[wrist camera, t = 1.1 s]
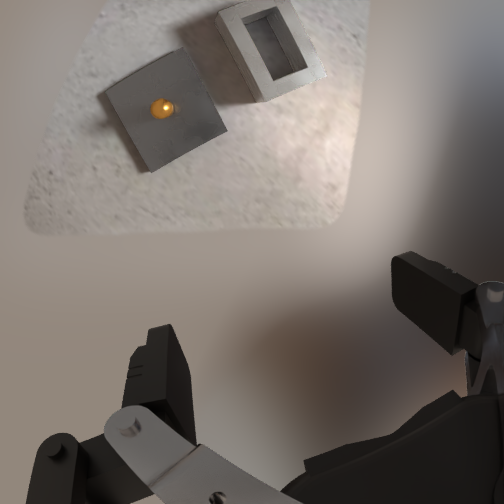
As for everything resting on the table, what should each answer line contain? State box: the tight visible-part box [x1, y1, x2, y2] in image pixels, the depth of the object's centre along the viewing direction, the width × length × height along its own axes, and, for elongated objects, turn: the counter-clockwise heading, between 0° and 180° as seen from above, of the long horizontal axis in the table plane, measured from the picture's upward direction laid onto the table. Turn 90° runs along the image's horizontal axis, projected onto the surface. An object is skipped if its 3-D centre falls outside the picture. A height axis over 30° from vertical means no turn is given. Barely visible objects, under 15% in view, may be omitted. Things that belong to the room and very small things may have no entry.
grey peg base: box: [105, 47, 227, 173], centre depth 21 cm, size 8×7×5 cm
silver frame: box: [214, 0, 327, 103], centre depth 21 cm, size 8×5×4 cm
